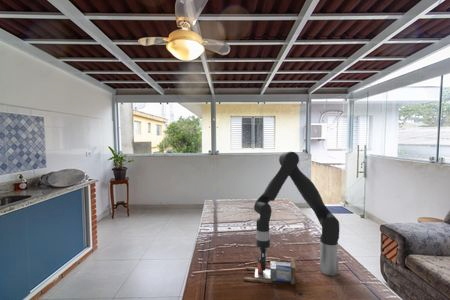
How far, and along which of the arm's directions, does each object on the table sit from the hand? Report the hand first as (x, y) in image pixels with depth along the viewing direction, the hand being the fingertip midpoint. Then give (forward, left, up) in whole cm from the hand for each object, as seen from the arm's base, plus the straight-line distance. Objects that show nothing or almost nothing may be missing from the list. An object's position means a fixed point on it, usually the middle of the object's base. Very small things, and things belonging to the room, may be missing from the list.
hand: (263, 266), depth 134 cm
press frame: (-3, 0, -6) cm, 7 cm away
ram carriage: (-1, 0, -6) cm, 6 cm away
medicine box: (-11, +1, -6) cm, 12 cm away
